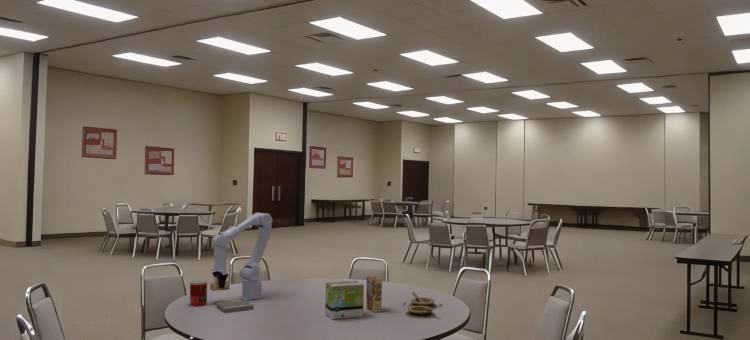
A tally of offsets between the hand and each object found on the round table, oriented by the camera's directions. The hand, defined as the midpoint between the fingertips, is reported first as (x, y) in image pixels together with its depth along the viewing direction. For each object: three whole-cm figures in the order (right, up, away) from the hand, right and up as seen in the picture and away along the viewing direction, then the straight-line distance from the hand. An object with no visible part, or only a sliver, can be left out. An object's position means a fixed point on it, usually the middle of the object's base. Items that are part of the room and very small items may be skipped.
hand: (220, 287), depth 279 cm
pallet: (0, -1, 0) cm, 1 cm away
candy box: (+76, -9, -12) cm, 77 cm away
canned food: (-10, -8, -3) cm, 13 cm away
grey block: (0, +2, 0) cm, 2 cm away
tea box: (+62, -8, -23) cm, 67 cm away
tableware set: (+98, -9, -12) cm, 99 cm away
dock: (+10, -8, -10) cm, 16 cm away
